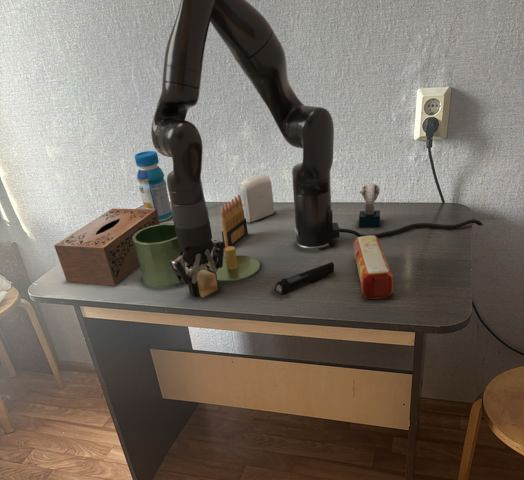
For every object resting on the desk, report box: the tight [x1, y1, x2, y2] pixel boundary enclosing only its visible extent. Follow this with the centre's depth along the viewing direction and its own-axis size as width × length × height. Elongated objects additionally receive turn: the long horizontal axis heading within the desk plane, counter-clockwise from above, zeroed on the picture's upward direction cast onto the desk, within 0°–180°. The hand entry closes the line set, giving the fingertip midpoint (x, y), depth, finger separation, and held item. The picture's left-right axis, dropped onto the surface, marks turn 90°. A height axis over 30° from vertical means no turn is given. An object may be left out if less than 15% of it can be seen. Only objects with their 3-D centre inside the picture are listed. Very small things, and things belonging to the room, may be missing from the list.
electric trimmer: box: [274, 261, 335, 296], centre depth 116 cm, size 4×16×3 cm, turn 122°
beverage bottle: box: [134, 150, 173, 223], centre depth 158 cm, size 8×8×20 cm
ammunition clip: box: [220, 193, 249, 248], centre depth 137 cm, size 11×2×12 cm, turn 153°
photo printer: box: [238, 174, 275, 223], centre depth 152 cm, size 10×4×12 cm, turn 127°
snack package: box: [353, 234, 394, 300], centre depth 114 cm, size 21×7×7 cm, turn 177°
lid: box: [204, 246, 261, 283], centre depth 124 cm, size 14×14×6 cm
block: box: [196, 268, 219, 298], centre depth 117 cm, size 4×4×4 cm
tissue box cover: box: [53, 207, 161, 287], centre depth 135 cm, size 26×14×10 cm, turn 161°
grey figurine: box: [358, 182, 381, 229], centre depth 139 cm, size 6×8×11 cm
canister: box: [132, 222, 193, 288], centre depth 124 cm, size 13×13×12 cm
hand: (204, 291), depth 118 cm, fingers closed on block, 4 cm apart
